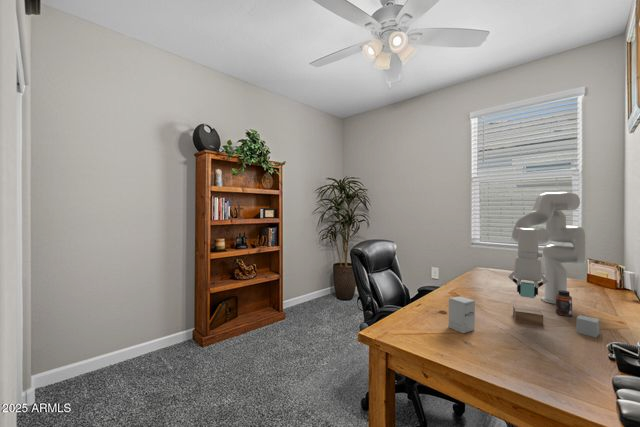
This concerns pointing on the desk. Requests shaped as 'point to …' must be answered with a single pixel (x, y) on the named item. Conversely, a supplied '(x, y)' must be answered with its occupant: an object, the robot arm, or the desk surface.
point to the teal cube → (527, 289)
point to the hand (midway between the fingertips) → (527, 294)
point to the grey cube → (587, 325)
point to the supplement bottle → (564, 303)
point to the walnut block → (528, 315)
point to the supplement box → (461, 314)
